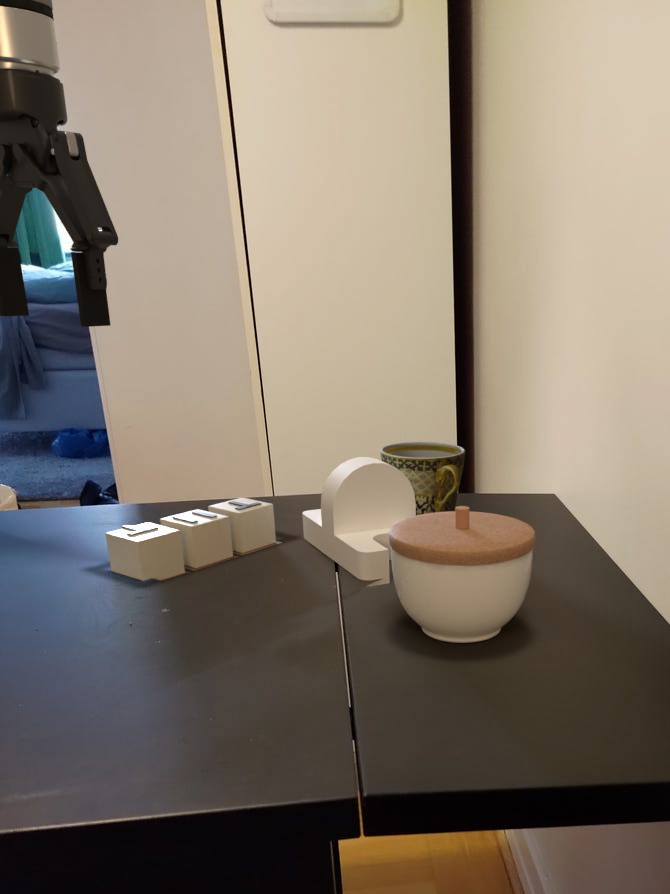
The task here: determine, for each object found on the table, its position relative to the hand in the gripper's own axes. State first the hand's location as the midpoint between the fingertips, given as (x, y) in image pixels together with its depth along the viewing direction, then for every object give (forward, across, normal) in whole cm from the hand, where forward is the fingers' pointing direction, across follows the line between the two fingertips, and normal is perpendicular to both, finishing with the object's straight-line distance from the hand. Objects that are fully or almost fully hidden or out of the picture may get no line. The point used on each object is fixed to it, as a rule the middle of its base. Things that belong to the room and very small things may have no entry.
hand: (53, 321), depth 88 cm
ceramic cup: (+24, -27, -28) cm, 45 cm away
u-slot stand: (+24, -27, -17) cm, 39 cm away
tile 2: (+23, -14, -10) cm, 29 cm away
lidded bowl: (+23, -47, -6) cm, 52 cm away
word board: (+24, -14, -4) cm, 28 cm away
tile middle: (+23, -14, -4) cm, 27 cm away
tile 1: (+23, -14, +3) cm, 27 cm away
